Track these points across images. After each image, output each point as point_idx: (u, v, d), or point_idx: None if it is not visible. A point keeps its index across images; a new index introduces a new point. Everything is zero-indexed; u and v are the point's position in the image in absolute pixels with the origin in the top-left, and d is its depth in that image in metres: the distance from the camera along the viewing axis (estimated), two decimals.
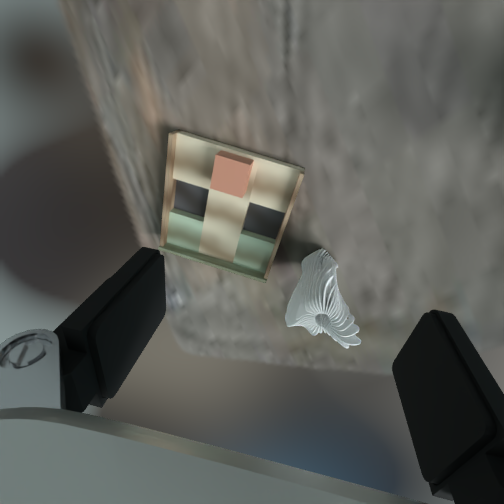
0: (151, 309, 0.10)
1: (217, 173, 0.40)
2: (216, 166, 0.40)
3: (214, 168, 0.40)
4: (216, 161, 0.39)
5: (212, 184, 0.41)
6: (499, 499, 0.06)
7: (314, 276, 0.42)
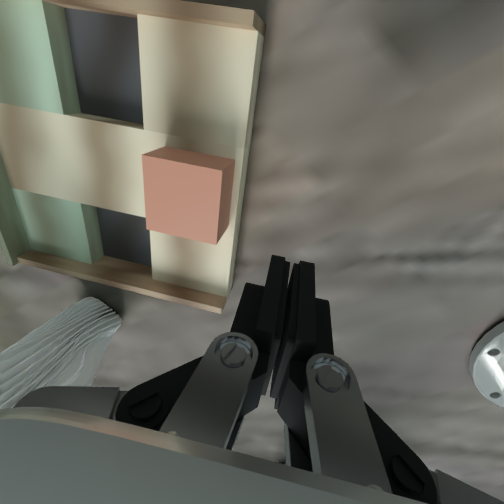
0: None
1: (181, 175, 0.17)
2: (196, 172, 0.17)
3: (190, 167, 0.17)
4: (208, 173, 0.17)
5: (151, 162, 0.17)
6: (290, 390, 0.07)
7: (57, 372, 0.24)
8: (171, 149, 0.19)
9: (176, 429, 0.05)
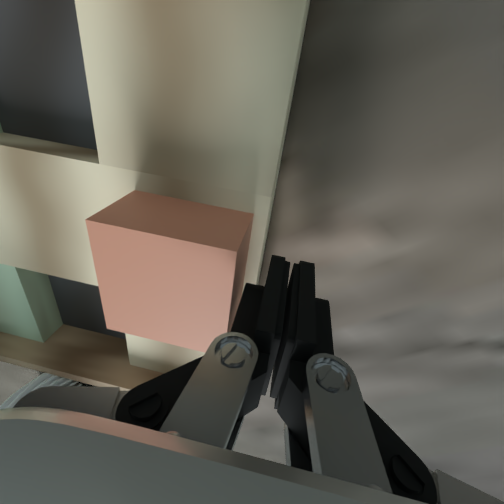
0: None
1: (160, 255, 0.09)
2: (187, 252, 0.09)
3: (176, 243, 0.09)
4: (209, 255, 0.09)
5: (105, 233, 0.09)
6: (290, 390, 0.07)
7: None
8: (145, 197, 0.11)
9: (176, 429, 0.05)
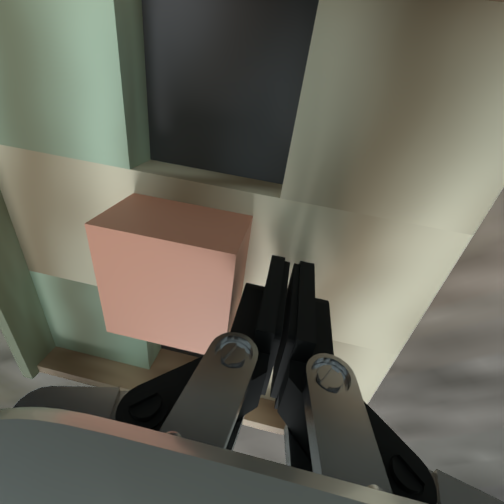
0: None
1: (160, 259, 0.09)
2: (187, 255, 0.09)
3: (176, 247, 0.09)
4: (209, 258, 0.09)
5: (104, 237, 0.09)
6: (290, 390, 0.07)
7: None
8: (144, 200, 0.11)
9: (176, 429, 0.05)
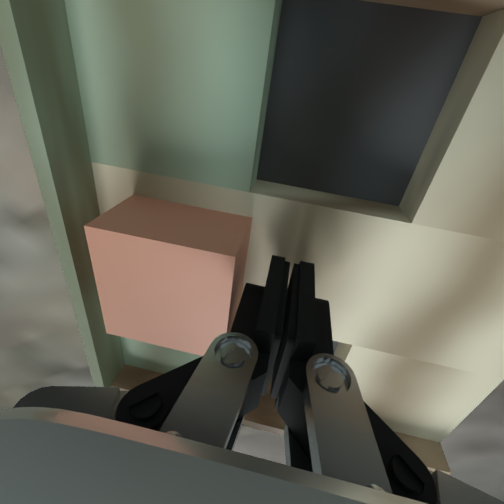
0: None
1: (159, 260, 0.09)
2: (186, 257, 0.09)
3: (175, 249, 0.09)
4: (208, 260, 0.09)
5: (104, 239, 0.09)
6: (290, 390, 0.07)
7: None
8: (143, 202, 0.11)
9: (176, 429, 0.05)
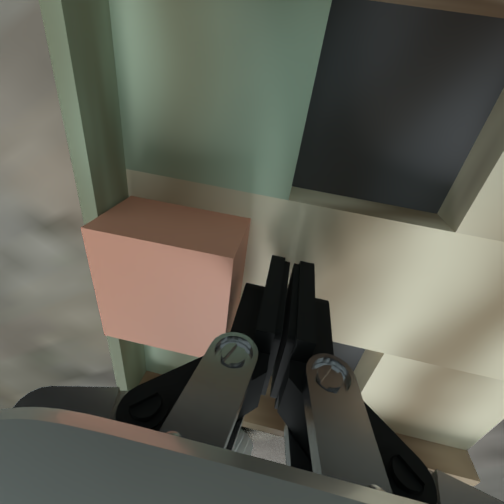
0: None
1: (156, 262, 0.09)
2: (184, 259, 0.09)
3: (173, 251, 0.09)
4: (206, 261, 0.09)
5: (101, 240, 0.09)
6: (290, 390, 0.07)
7: None
8: (141, 203, 0.11)
9: (176, 429, 0.05)
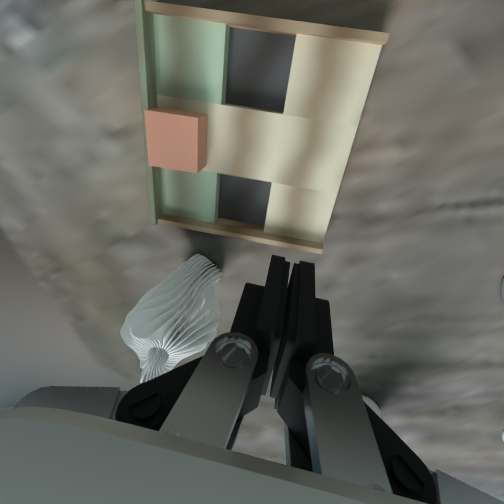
0: None
1: (171, 122, 0.26)
2: (181, 120, 0.25)
3: (177, 116, 0.25)
4: (188, 120, 0.25)
5: (151, 115, 0.26)
6: (290, 390, 0.07)
7: (200, 303, 0.32)
8: (163, 108, 0.27)
9: (176, 429, 0.05)
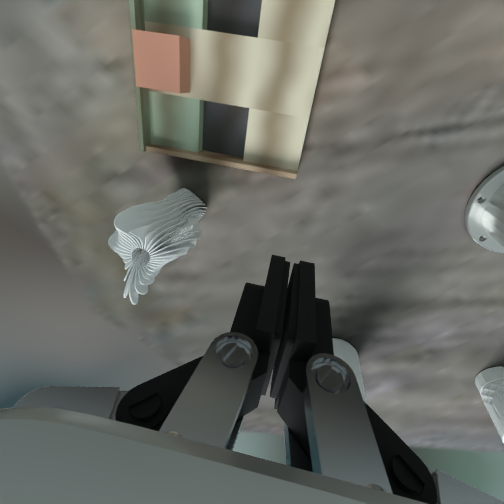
0: None
1: (155, 41, 0.28)
2: (164, 38, 0.28)
3: (160, 35, 0.28)
4: (171, 38, 0.28)
5: (138, 34, 0.28)
6: (290, 390, 0.07)
7: (182, 221, 0.34)
8: None
9: (176, 429, 0.05)
